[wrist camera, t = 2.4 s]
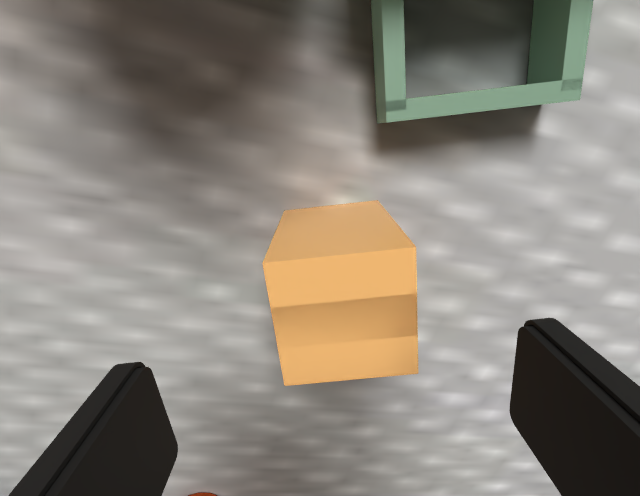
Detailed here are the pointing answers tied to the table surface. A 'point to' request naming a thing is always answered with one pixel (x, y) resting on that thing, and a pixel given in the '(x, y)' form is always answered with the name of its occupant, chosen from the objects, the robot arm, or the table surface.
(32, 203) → the table surface
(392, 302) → the orange rectangular block
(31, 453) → the table surface
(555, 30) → the green drawer box
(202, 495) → the toy drill
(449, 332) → the table surface
